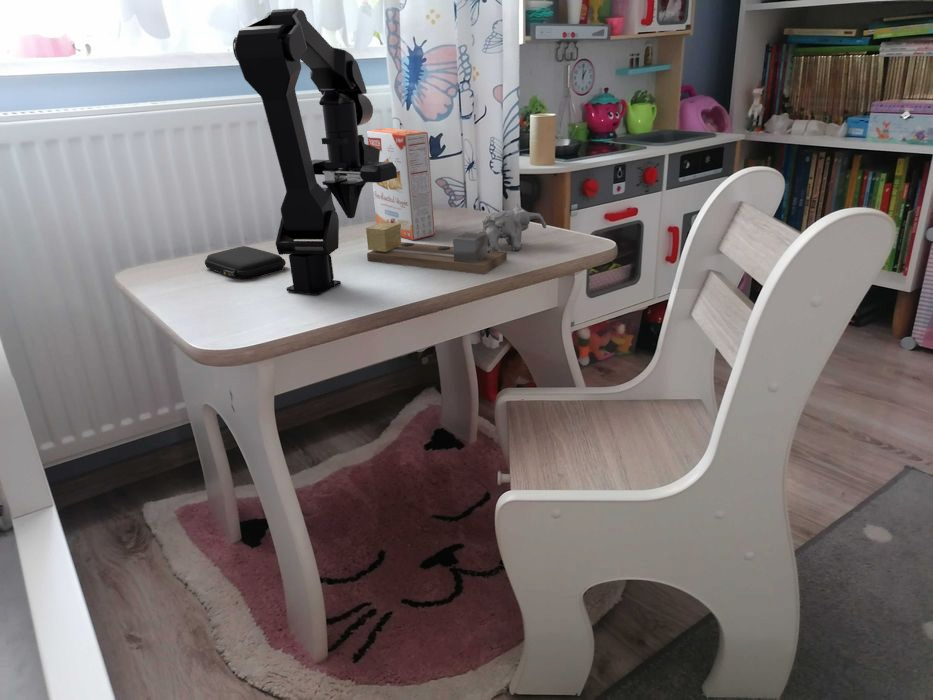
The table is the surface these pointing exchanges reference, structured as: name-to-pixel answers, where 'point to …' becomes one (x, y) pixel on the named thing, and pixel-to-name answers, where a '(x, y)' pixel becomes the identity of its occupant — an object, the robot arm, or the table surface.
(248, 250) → the carrying case or bag
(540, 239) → the table surface
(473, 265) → the board
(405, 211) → the cracker box
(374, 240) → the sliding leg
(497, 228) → the elephant statuette
